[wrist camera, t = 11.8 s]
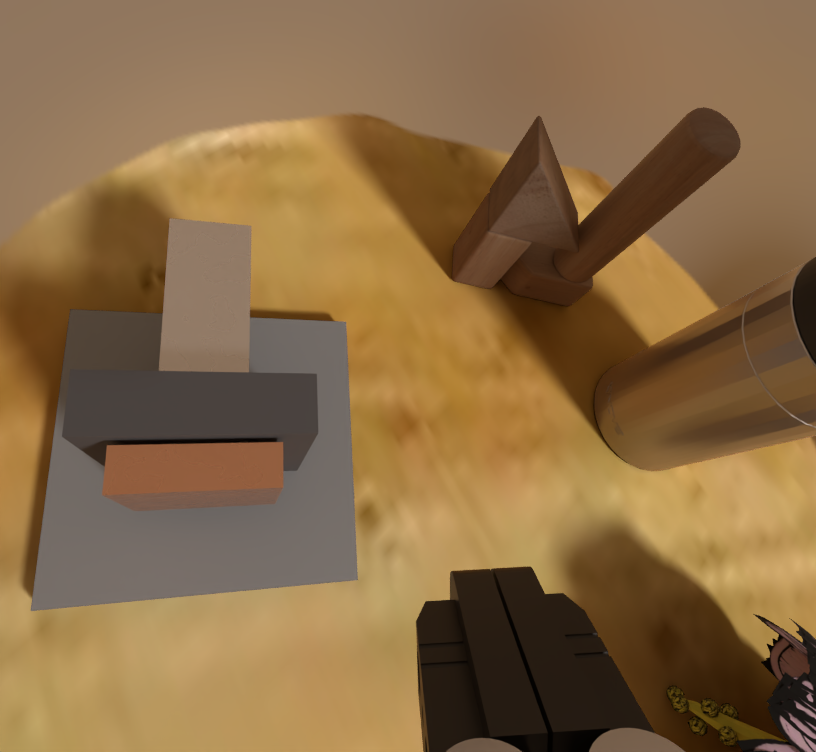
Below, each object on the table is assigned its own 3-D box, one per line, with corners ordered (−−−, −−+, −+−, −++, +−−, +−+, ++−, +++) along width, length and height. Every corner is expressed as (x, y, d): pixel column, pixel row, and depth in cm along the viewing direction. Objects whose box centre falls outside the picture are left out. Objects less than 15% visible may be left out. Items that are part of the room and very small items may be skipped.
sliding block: (275, 278, 34) (282, 211, 28) (275, 504, 30) (283, 487, 23) (153, 269, 32) (131, 196, 26) (134, 511, 28) (102, 495, 21)
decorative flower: (938, 1040, 25) (838, 785, 23) (685, 902, 34) (597, 708, 32) (942, 771, 35) (871, 573, 33) (743, 717, 43) (678, 558, 41)
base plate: (342, 330, 39) (346, 321, 38) (353, 579, 34) (357, 579, 32) (77, 319, 34) (70, 309, 33) (40, 608, 29) (30, 610, 27)
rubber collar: (296, 426, 34) (316, 373, 25) (297, 470, 33) (318, 432, 24) (122, 428, 31) (70, 369, 22) (118, 476, 30) (62, 436, 21)
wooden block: (452, 244, 44) (573, 57, 28) (567, 271, 47) (740, 114, 30) (450, 283, 43) (576, 110, 27) (569, 309, 45) (750, 166, 29)
